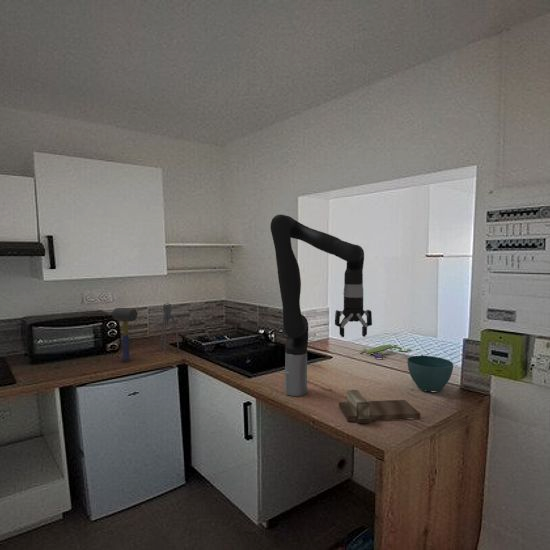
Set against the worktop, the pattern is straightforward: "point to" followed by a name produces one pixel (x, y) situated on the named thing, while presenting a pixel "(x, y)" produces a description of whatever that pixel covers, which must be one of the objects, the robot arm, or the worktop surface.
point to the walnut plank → (383, 410)
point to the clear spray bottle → (166, 317)
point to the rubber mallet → (125, 327)
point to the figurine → (383, 348)
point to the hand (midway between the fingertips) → (353, 336)
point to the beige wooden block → (359, 406)
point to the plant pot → (430, 372)
